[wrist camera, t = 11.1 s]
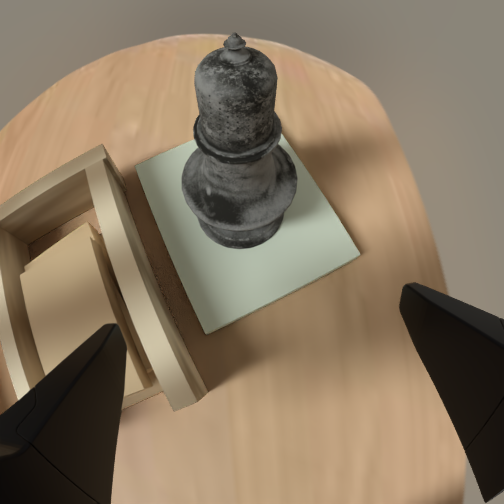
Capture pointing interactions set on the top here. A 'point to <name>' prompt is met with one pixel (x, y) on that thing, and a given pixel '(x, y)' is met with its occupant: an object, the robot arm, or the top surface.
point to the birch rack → (123, 261)
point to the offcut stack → (82, 307)
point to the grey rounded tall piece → (238, 149)
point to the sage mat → (243, 260)
